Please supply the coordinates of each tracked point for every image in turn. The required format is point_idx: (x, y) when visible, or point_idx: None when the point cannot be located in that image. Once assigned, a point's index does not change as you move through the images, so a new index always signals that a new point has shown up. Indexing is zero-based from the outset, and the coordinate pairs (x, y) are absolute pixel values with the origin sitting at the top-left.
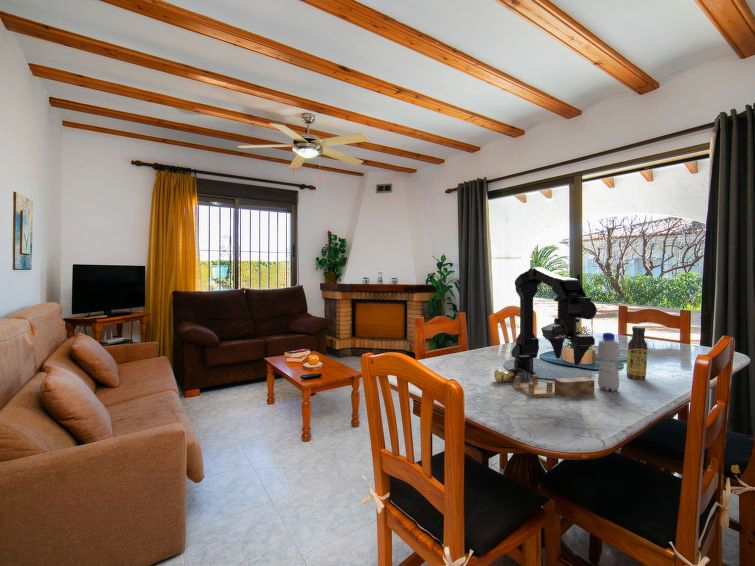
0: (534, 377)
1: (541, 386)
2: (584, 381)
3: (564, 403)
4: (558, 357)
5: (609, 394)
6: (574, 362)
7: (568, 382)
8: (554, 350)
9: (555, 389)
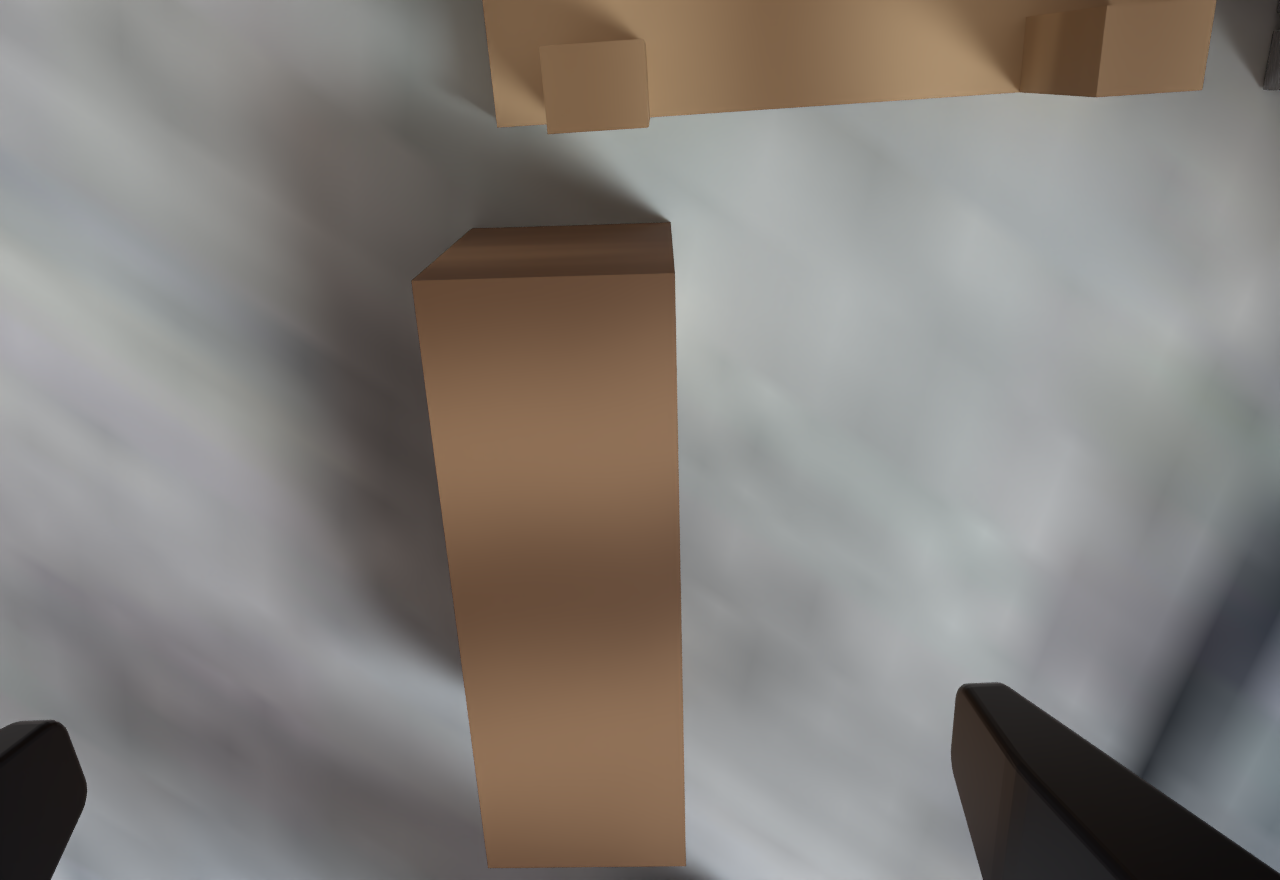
0: (1106, 6)
1: (868, 77)
2: (472, 714)
3: (158, 66)
4: (961, 752)
5: None
6: (6, 758)
7: (430, 419)
8: (1182, 868)
9: (642, 234)
